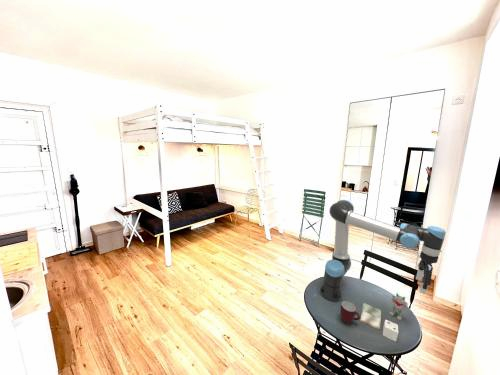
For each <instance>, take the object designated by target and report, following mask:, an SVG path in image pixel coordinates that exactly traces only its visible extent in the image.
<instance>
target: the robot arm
mask: <svg viewBox="0 0 500 375" xmlns="http://www.w3.org/2000/svg"><path fill="white" fill-rule="evenodd" d="M354 210H355V206H354V204H353V203H352V202H351V201H350V200H348V199H341V200H340V199H339V200H338V201H337V202H335V203H333V204H332V205H331V206H330V208H329V215H330V216H331V218H332V219H333V220H334V221H335V232H334V233H335V234H334V236H335V237H334V238H335V239H334V251H333V252H332V253H331V254H332V256H331V259H329V260H327V262H326V263H325V267H324V274H323V281H322V282H321V284H320V286H319V288H318V289H319V290H318V291H319V294H320V296H322V297H323V298H324V299H326V300H327V301H330V302H335V303H337V302H340V301H342V299H343V294H344V293H343V290H342V283H343V279H344V277H345V275H346V274H347V273H348V271H349V270H350V269H351V267H352V259H351V256H350V254H348V253H349V252H348V250H349V234H350V233H349V231H350V230H349V227H350V225H352V226H354V227H356V228H360V229H363V230H366V231H368V232H370V233H374V234H377V235H378V236H382V237H384V238H387V239H388V240H389V239H390V240H391V241H392V240H393V241H395V242H398V243H400V244H401V245H402V246H403V247H404V248H406V249H415V248H416V247H417V246H418V244H419V243H420V242H423V243H422V247H421V251H420V254H419V258H420V261H419V263H418V265H417V267H418V269H417V273H416V275H415V280H417V281H420V282H421V284H420V288H419V293H420V294H423V295H427V292H428V288H429V286H431V283H432V276H433V270H434V267H433V264H437V263H438V260H439V257H440V254H441V253H442V246H443V244H444V241H445V238H446V230H445V229H444V228H442V227H439V226H433V225H429V226H427V228H424V227H421V226H417V225H412V224H409V223H404V222H403V223H401V224H400V226H399V227H398V226H395V225H392V224H389V223H386V222H383V221H380V220H377V219H374V218H371V217H368V216H365V215H361V214H359V213H356V212H354Z"/></svg>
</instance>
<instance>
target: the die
mask: <svg viewBox="0 0 500 375" xmlns="http://www.w3.org/2000/svg"><path fill="white" fill-rule="evenodd" d="M382 327H383V328H382V336H383V337H385V338H387V339H389V340H392V341H394V342H397V340H398V336H399V325H398V324H397V323H395V322H392V321H391V320H387V319H384V322H383V326H382Z"/></svg>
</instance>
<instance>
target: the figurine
mask: <svg viewBox="0 0 500 375" xmlns="http://www.w3.org/2000/svg"><path fill="white" fill-rule="evenodd" d="M390 304H391V305H393V306H392V311H390V312H389V315H390V316H392V317H393V316H394V315H395V314H396V313H397V316H396V319H398V321H401V320H402V319H403V317H402V315H403V311H404V312H406V311H407V307H408V302H407V301H406V296H401V295H399V293H398V292H396V294H395V296H394V295H393V296H392V298H391V301H390Z"/></svg>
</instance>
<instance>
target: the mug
mask: <svg viewBox="0 0 500 375" xmlns="http://www.w3.org/2000/svg"><path fill="white" fill-rule="evenodd" d="M355 316H357V317H355ZM340 317H341V319H342V321H343V322H344V323H346V324H349V323H351V322H352V321H353V320H354V321H360V320H361V314H359V312H357V306H355V304H354V303H353V302H350V301H348V300H342V301H341V302H340Z"/></svg>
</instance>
